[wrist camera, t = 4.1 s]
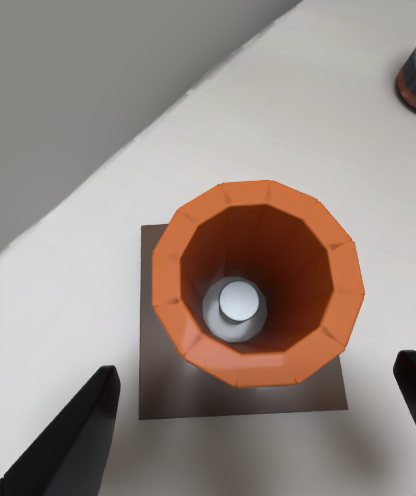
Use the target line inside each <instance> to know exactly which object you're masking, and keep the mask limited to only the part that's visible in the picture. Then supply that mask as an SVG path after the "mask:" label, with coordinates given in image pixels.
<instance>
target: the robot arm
mask: <svg viewBox="0 0 416 496" xmlns="http://www.w3.org/2000/svg"><path fill="white" fill-rule="evenodd" d="M393 373H394V376H395V379H396V381H397V383H398V386H399V388H400V390H401V393H402V395H403V397H404V399H405V402H406V404H407V406H408V409H409V411H410V413H411V416H412V418H413V420H414V422H415V424H416V351H415V350H402V351H400V352H399V353H398V355H397V358H396V361H395V364H394V366H393ZM120 387H121V384H120V379H119V376H118V373H117V370H116V367H115V366H114V365H107V366H102V367H100V368H99V369H98V370H97V371H96V373H95V374H94V375H93V376H92V377H91V378H90V379H89V380H88V381H87V383H86V384H85V385H84V386H83V387H82V388H81V389H80V390H79V392H78V393H77V394H76V395H75V396H74V397H73V398H72V399H71V400H70V402H69V403H68V404H67V405H66V406H65V407H64V408H63V409H62V411H61V412H60V413H59V414H58V415H57V416H56V417H55V418H54V419H53V421H52V422H51V423H50V424H49V425H48V426H47V427H46V428H45V430H44V431H43V432H42V433H41V434H40V435H39V436H38V437H37V438H36V440H35V441H34V442H33V443H32V444H31V445H30V446H29V447H28V449H27V450H26V451H25V452H24V453H23V454H22V455H21V456H20V457H19V459H18V460H17V461H16V462H15V463H14V464H13V465H12V466H11V468H10V469H9V470H8V471H7V472H6V473H5V474H4V478H3V477H2V478H1V479H0V496H98V493H99V489H100V485H101V481H102V477H103V474H104V470H105V466H106V462H107V458H108V455H109V451H110V447H111V443H112V438H113V432H114V426H115V420H116V414H117V407H118V401H119V395H120Z"/></svg>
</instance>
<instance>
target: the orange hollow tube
mask: <svg viewBox="0 0 416 496" xmlns="http://www.w3.org/2000/svg"><path fill="white" fill-rule="evenodd" d="M239 276H241V277H243V278H245V279H247V280H249V281H251V282H253V283H255V284H256V285H257V286H258V288H259V289H260V291H261V292H262V293H263V295H264V296H265V298H266V307H267V317H266V320H265V322H264V324H263V327H262V329H261V331H260V332H259V333H257V334H256V335H254V336H253V337H251V338H250V339H248V340H247V341H242V342H227V341H225V340H223V339H221V338H219V337H218V336H216V335H214V334H212V332H211V331H210V329H209V327H208V326H207V324H206V323H205V321H204V319H203V304H202V301H203V299H204V297H205V295H206V293H207V292H208V290H209V288H210V286H212V285H213V284H215V283H216V282H218V281H219V280H221V279H222V278H224V277H239ZM364 295H365V290H364V286H363V281H362V276H361V271H360V266H359V261H358V257H357V252H356V247H355V242H354V241H352V239H351V237H350V236H349V235H348V234H347V233H346V232H345V230H344V229H343V228H342V227H341V226H340V224H339V223H338V222H337V221H336V220H335V219H334V217H333V216H332V215H331V214H330V213H329V212H328V210H327V209H326V208H325V207H324V206H323V204H322V203H321V202H318V199H316V198H314V197H311V196H309V195H306V194H304V193H302V192H299V191H297V190H294V189H292V188H290V187H287V186H285V185H283V184H280V183H278V182H275V181H270V180H260V181H245V182H230V183H222V184H218V185H217V186H215V187H213V188H212V189H210V190H208V191H207V192H205V193H203V194H202V195H200V196H198V197H197V198H195V199H193V200H192V201H190V202H188V203H187V204H185V205H183V206H182V207H180V208H179V209H178V210H177V211H176V212H175V214H174V216H173V218H172V219H171V221H170V223H169V224H168V226H167V228H166V230H165V231H164V233H163V235H162V237H161V238H160V240H159V242H158V244H157V245H156V247H155V249H154V250H153V254H152V307H153V308H154V312H155V314H156V316H157V317H158V319H159V321H160V323H161V324H162V326H163V328H164V329H165V331H166V333H167V335H168V336H169V338H170V340H171V341H172V343H173V345H174V347H175V348H176V350H177V352H178V354H179V355H180V356H181V357H183V359H184V360H185V361H186V362H188V363H190V364H192V365H194V366H195V367H197V368H199V369H201V370H203V371H204V372H206V373H208V374H210V375H212V376H213V377H215V378H217V379H219V380H221V381H222V382H224V383H226V384H228V385H230V386H231V387H236V388H259V387H278V386H294V385H296V384H297V385H298V384H300V383H302V382H303V381H304V380H306V379H307V378H309V377H310V376H311V375H313V374H314V373H315V372H317V371H318V370H319V369H321V368H322V367H323V366H325V365H326V364H328V363H329V362H330V361H332V360H333V359H334V358H336V357H337V356H338V355H340V354H341V353H342V352H344V350H345V349H344V348H345V347H346V346H347V344H348V341H349V338H350V335H351V333H352V330H353V327H354V324H355V322H356V319H357V316H358V313H359V310H360V308H361V305H362V302H363V299H364Z"/></svg>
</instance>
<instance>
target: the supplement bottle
mask: <svg viewBox="0 0 416 496" xmlns="http://www.w3.org/2000/svg"><path fill="white" fill-rule="evenodd" d="M398 87H399V91H400V93H401V95H402V97H403V98H404V99H405V101H407V103H409V104H410V105H411V106H413V107H414V108H415V109H416V48H415V50H414V51H413V53H412V54H411V55H410V57H409V58H408V60H407V61H406V63H405V64H404V66H403V67H402V69H401V71H400V72H399V75H398Z"/></svg>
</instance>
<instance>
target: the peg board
mask: <svg viewBox="0 0 416 496" xmlns="http://www.w3.org/2000/svg"><path fill="white" fill-rule="evenodd" d="M167 226H168V224H160V225H145V226H141V291H140V363H139V420H149V419H169V418H190V417H210V416H230V415H251V414H271V413H291V412H312V411H332V410H348V406H347V400H346V394H345V388H344V382H343V376H342V371H341V365H340V359H339V355H338V356H337V357H336V358H334V359H333V360H332V361H330V362H329V363H328V364H326V365H325V366H323V367H322V368H321V369H319V370H318V371H317V372H315V373H314V374H313V375H311V376H310V377H309V378H307V379H306V380H304V381H303V382H302V383H300V384H298V385H297V384H296V385H294V386H278V387H259V388H236V387H231V386H230V385H228V384H226V383H224V382H222V381H221V380H219V379H217V378H215V377H213V376H212V375H210V374H208V373H206V372H204V371H203V370H201V369H199V368H197V367H195V366H194V365H192V364H190V363H188V362H186V361H185V360H184V359H183V357H181V356H180V355H179V354H178V352H177V350H176V348H175V347H174V345H173V343H172V341H171V340H170V338H169V336H168V335H167V333H166V331H165V329H164V328H163V326H162V324H161V323H160V321H159V319H158V317H157V316H156V314H155V312H154V308H153V307H152V254H153V250H154V249H155V247H156V245H157V244H158V242H159V240H160V238H161V237H162V235H163V233H164V231H165V230H166V228H167ZM202 304H203V319H204V321H205V323H206V324H207V326H208V327H209V329H210V331H211V332H212V334H214V335H216V336H218V337H219V338H221V339H223V340H225V341H227V342H242V341H247V340H248V339H250V338H251V337H253V336H254V335H256V334H257V333H259V332H260V331H261V329H262V327H263V324H264V322H265V320H266V317H267V307H266V298H265V296H264V295H263V293H262V292H261V291H260V289H259V288H258V286H257V285H256V284H255V283H253V282H251V281H249V280H247V279H245V278H243V277H241V276H239V277H224V278H222V279H221V280H219V281H218V282H216V283H215V284H213V285H212V286H210V288H209V290H208V292H207V293H206V295H205V297H204V299H203V301H202Z"/></svg>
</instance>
